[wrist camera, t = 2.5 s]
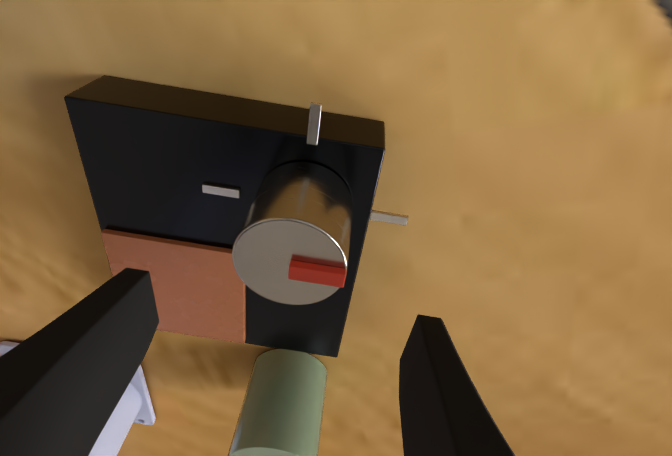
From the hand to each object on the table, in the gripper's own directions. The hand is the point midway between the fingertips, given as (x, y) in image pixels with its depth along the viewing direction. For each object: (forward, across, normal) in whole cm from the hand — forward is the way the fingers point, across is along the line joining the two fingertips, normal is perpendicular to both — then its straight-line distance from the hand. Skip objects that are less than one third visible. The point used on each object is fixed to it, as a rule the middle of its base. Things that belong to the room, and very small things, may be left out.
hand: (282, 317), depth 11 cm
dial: (+5, 0, 0) cm, 5 cm away
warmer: (+8, +3, +3) cm, 9 cm away
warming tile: (+5, +6, +6) cm, 10 cm away
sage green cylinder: (+8, 0, +15) cm, 17 cm away
